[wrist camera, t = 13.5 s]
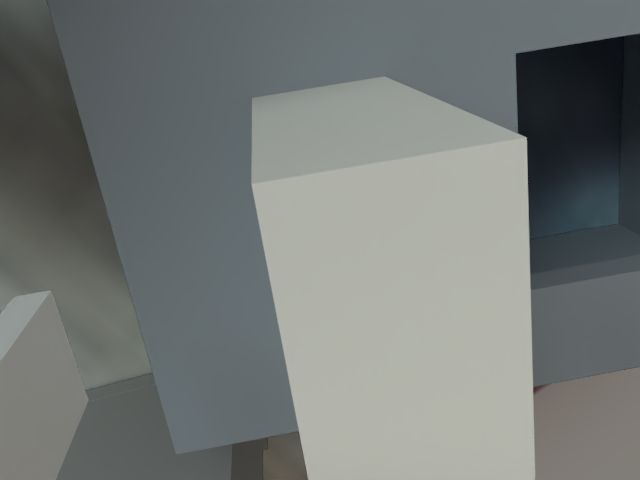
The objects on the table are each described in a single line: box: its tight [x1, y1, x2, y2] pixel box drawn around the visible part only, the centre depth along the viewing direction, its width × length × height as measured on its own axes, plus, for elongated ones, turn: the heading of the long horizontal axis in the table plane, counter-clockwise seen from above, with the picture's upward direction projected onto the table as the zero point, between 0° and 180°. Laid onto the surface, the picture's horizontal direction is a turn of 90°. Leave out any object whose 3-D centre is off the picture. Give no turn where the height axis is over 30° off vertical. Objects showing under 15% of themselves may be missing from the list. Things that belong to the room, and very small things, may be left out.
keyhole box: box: [47, 0, 640, 454], centre depth 25 cm, size 24×16×11 cm, turn 98°
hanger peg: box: [251, 76, 535, 480], centre depth 18 cm, size 6×8×16 cm
